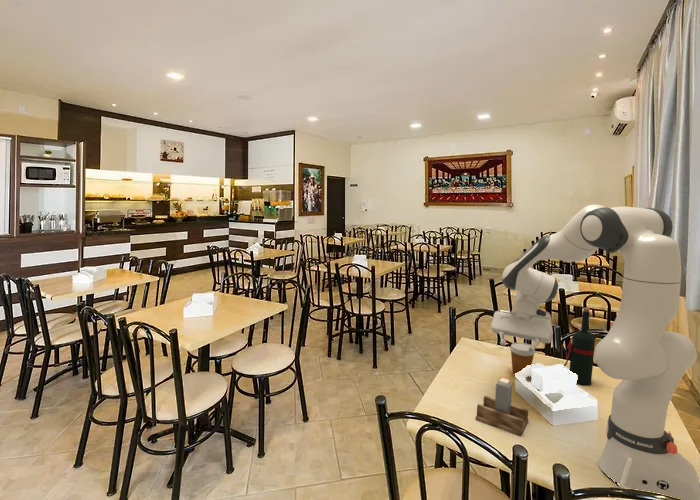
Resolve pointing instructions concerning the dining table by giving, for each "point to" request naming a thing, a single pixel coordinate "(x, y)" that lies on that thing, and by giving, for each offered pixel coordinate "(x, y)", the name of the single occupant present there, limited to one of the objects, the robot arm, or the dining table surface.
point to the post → (503, 396)
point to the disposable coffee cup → (520, 356)
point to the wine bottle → (582, 352)
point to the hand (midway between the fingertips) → (516, 347)
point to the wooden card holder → (502, 416)
